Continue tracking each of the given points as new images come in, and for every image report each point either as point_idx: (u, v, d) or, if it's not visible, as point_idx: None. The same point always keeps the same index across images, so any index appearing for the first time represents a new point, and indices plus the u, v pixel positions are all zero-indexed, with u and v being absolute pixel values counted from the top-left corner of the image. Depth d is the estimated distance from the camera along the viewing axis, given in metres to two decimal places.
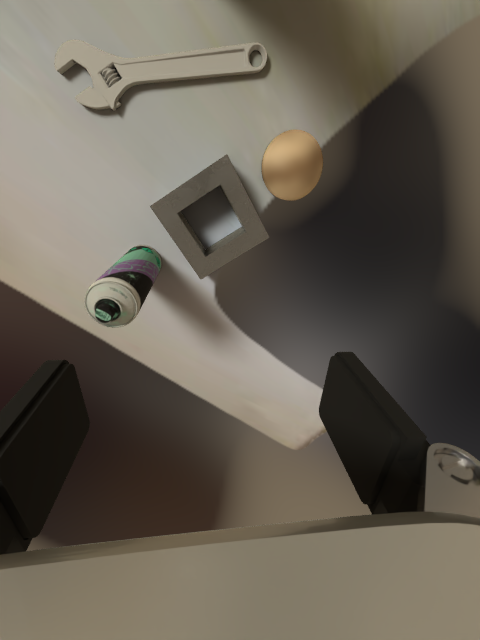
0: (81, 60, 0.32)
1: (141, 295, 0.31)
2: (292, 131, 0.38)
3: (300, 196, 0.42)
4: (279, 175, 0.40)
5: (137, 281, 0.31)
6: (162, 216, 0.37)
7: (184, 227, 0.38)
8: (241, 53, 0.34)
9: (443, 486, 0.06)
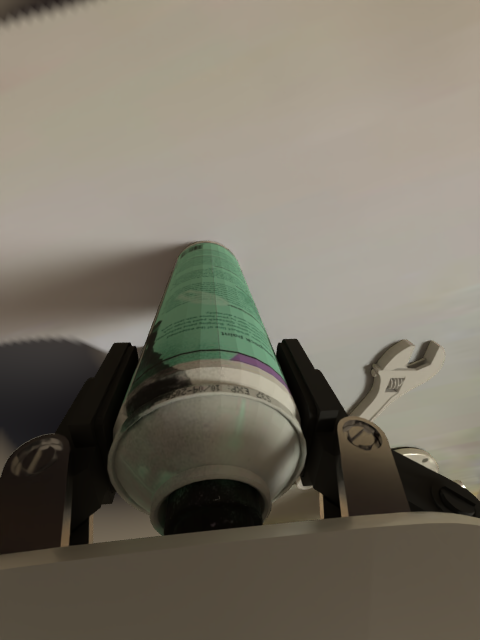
0: (423, 371, 0.29)
1: None
2: None
3: None
4: None
5: None
6: None
7: None
8: None
9: (355, 458, 0.06)
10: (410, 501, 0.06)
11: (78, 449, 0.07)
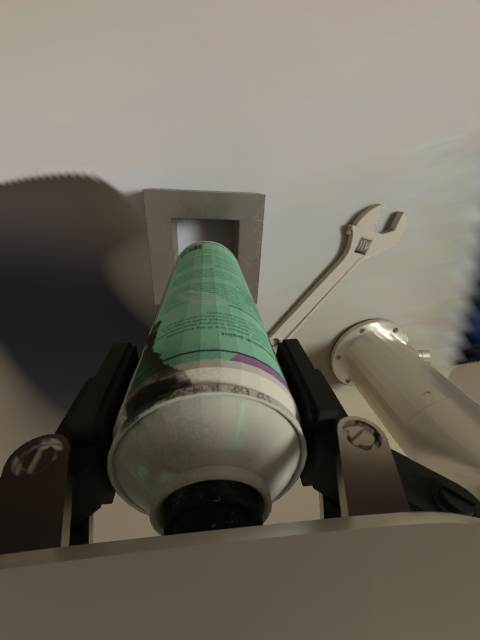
0: (387, 236, 0.35)
1: None
2: None
3: None
4: None
5: None
6: (247, 201, 0.28)
7: (220, 217, 0.28)
8: (284, 336, 0.41)
9: (354, 459, 0.06)
10: (410, 501, 0.06)
11: (78, 449, 0.07)
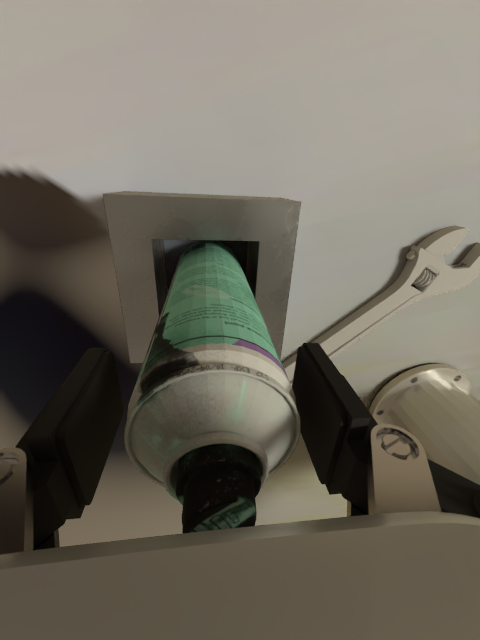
0: (458, 273, 0.25)
1: None
2: None
3: None
4: None
5: None
6: (271, 212, 0.17)
7: (229, 237, 0.18)
8: (289, 379, 0.29)
9: (387, 466, 0.06)
10: None
11: (39, 463, 0.06)
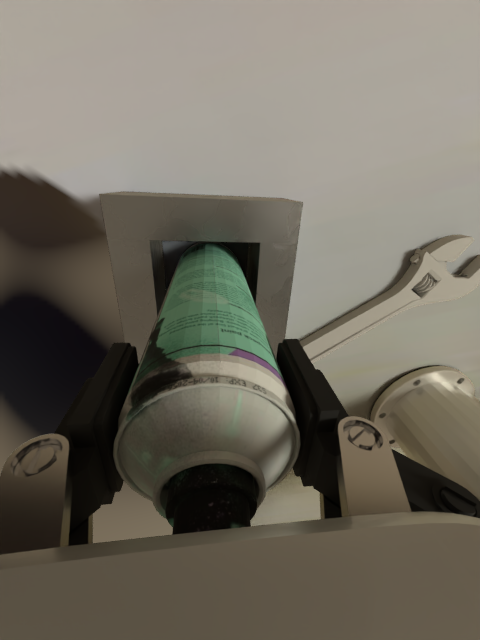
0: (458, 282, 0.25)
1: None
2: None
3: None
4: None
5: None
6: (273, 213, 0.17)
7: (229, 238, 0.17)
8: None
9: (355, 459, 0.06)
10: (411, 501, 0.06)
11: (77, 449, 0.07)
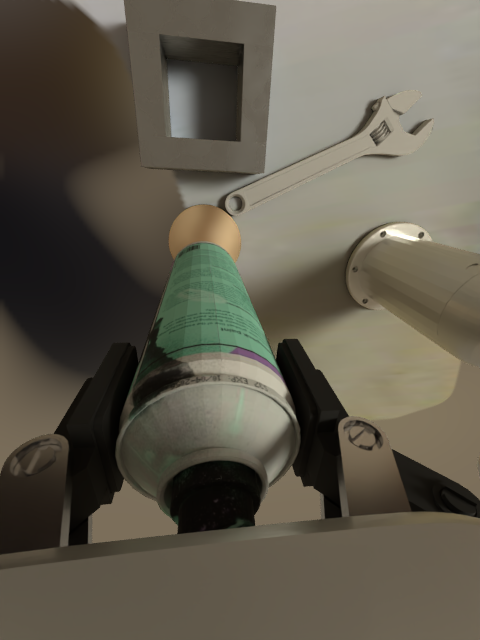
0: (407, 137, 0.31)
1: None
2: (236, 258, 0.35)
3: (170, 237, 0.33)
4: (205, 224, 0.33)
5: None
6: (253, 14, 0.22)
7: (220, 38, 0.23)
8: (251, 201, 0.33)
9: (356, 459, 0.06)
10: (411, 501, 0.06)
11: (77, 449, 0.07)
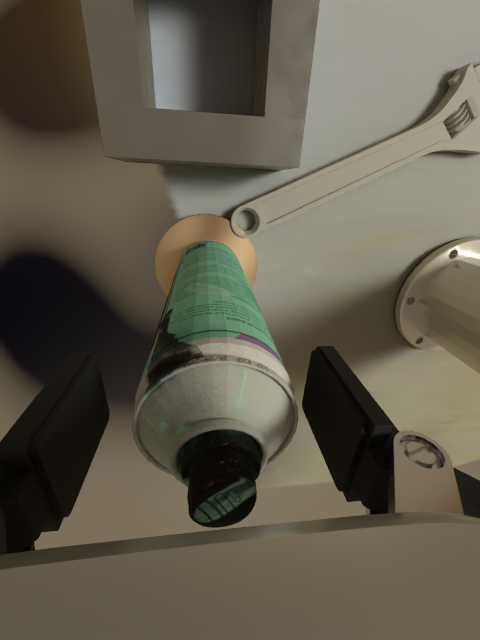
0: None
1: None
2: None
3: (157, 261, 0.23)
4: None
5: None
6: None
7: None
8: (268, 218, 0.23)
9: (410, 473, 0.06)
10: None
11: (10, 475, 0.06)
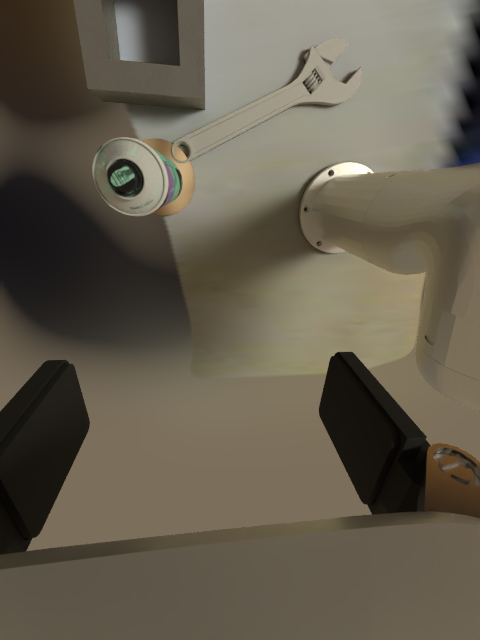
0: (338, 85, 0.33)
1: None
2: (190, 195, 0.37)
3: None
4: None
5: None
6: None
7: None
8: (196, 149, 0.35)
9: (443, 486, 0.06)
10: None
11: None
